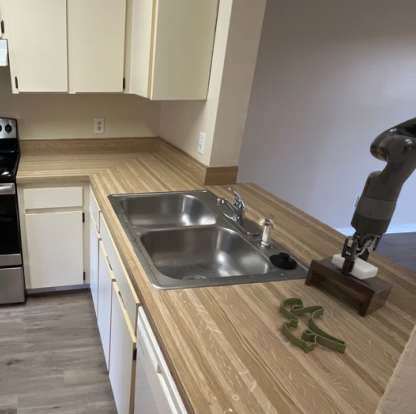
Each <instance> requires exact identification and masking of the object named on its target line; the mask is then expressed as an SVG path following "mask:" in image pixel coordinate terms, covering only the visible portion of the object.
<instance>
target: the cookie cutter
mask: <svg viewBox="0 0 416 414" xmlns="http://www.w3.org/2000/svg"><path fill="white" fill-rule="evenodd" d="M287 305H288V306H289V305H292V307H291V310H289V309H288V308H286V307H285V306H287ZM280 312H281V314H282V315H283V316H284V317H285V318H287V319H288V321H283V323H282V327H281V329H282V332H283V334H284V336H285V337H286V338H287V340H288V341H289V342H291V343H292V344H293V345H295V346H296V347H299V348H301V349H303V351H304V352H305V354H308V353H309V352H310V351H314V350H315V347H316V345H317V344H320V345H321V346H324V347H326V348H329V349H332V350H334V351H336V352H340V353H345V351H346V349H347V342H346V340H343V339H340V338H338V337H337V336H336V337H335V336H334V335H332V334H329V333H328V332H326V331H325V330H323V329H322V328H320V326H319V325H318V324H317V323H316V321H315V320H314V319H315V318H317V317H320V316H323V314H324V312H325V308H324V306H322V305H321V304H320V305H319V304H315V305H307V306H305V302H304V300H303V299H302V298H301V297H288V298H287V297H286V298H285V299H283V300H282V303H281V306H280ZM309 313H312V314H311V317H310V320H309V327H310V328H311V330H310V329H309V328H308V329H307V328H305V329H303V332H302V335H301V338H300V337H298V336H296V335H294V334H293V332H292V331H290V327H293V328H297V327H298V325H299V322H300V319H299V318H298V316H301V315H304V314H309ZM308 342H310V343H309V344H308Z"/></svg>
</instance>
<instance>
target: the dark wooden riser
mask: <svg viewBox="0 0 416 414" xmlns="http://www.w3.org/2000/svg"><path fill="white" fill-rule="evenodd" d="M332 259H333V256H332V255H330V256H327V257H325V258H322V259H319V260H317V259H315V258H313V259H311V261H310V264H309V268H308V270H307V274H306V278H305V282H304V285H305V286H306V287H310V286H312V285H314V284H316V283H319V282H320V281H323V280H326V279H327V278H329V279H330V280H332V281H334V282H336V283H338V284H340V285H342V286H344V287H346V288H348V289H349V290H352V291H354V292H356V293H358V294H360V295H362V296H364V297H365V298H364V301H363V304H362V306H361V308H360V311H359V313H358V314H359V316H360V317H363V318H366V317H367V316H369V315H371V314H372V313H374V312H376V311H378V310H379V309H381V308H383V307H384V306H386V303H387V301H388V298H389V296H390V294H391V291H392V289H393V286H394V284H393V283H391V282H389V281H386V280H384V279H383V278H380V277H377V275H376V276H375V277H371V278H367V279H362V280H361V279H358V278H357V277H355V276H353V275H351V274H350V273H348V272H346V271H344V270H343V269H341V268H340V267H338V266H336V265H335V264H333V263H332Z"/></svg>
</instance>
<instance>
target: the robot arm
mask: <svg viewBox="0 0 416 414" xmlns="http://www.w3.org/2000/svg"><path fill="white" fill-rule="evenodd" d="M369 153H370V155H371V157H373V158H375V159H376V160H379V161H380V162H381V161H382V162H385V163H386V165H385V167H383V169H382V170H376V171H374V170H373V171H371V172H370V173H369V174H368V175H367V177H366V180H365V183H364V186H363V189H362V192H361V194H360V196H359V198H358V199H357V203H356V206H355V209H354V212H353V214H352V218H351V221H350V226H351V228H353V229H354V230H355V231H354V233H353V234H352V235H351V237H350V238H349V237H346V238H345V239H344V242H343V246H342V251H341V253H340V254H341V257H343V258H345V260H344V263H343V266H342V269H343V270H344V271H346V272H349V273H350V272H352V270H353V267H354V264H355V262H356V260H357V258H360V259H362V260H364V261H366V262H367V263H368V260H369V257H370V255H372V254H373V252H375V251H376V250H377V249H378V246H379V244H380V242H381V240H382V237H383V235H384V234H387V232H388V229H389V226H390V224H391V222H392V218H393V216H394V214H395V211H396V209H397V204H398V199H399V197H400V194H401V192H402V190H403V187H404V184H405V183H406V182H407V180H408V179H409V178H410V177H411V176H412V175H413V173H414V172H415V170H416V116H414V117H412V118H410V119H407V120H405V121H403V122H400V123H398V124H396V125H394V126H391V127H389V128H387V129H385V130H383V131H382V132H381V133H379V134H378V135H377V136H376V137H374V139H373V140H372V141H371V143H370V145H369ZM349 254H350V255H349Z"/></svg>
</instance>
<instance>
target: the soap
mask: <svg viewBox="0 0 416 414" xmlns="http://www.w3.org/2000/svg"><path fill="white" fill-rule="evenodd" d="M341 254H342V253H337V254H333V256H332V257H333V259H332V263H333V264H335V265H336V266H338V267H340V268H341V269H342V266H343V263H344V260H345V258H343V257H341ZM349 255H350V254H349ZM378 270H379V268H378V267H377V266H375V265H373V264H371V263H370V262H368V261H367V262H366V261H364V260H362V259H360V258H357V260H356V262H355V264H354V267H353V270H352V272H350V274H351V275H353V276H355V277H357V278H358V279H361V280H362V279H367V278H371V277H375V276H376V277H377V273H378ZM348 273H349V272H348Z"/></svg>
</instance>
